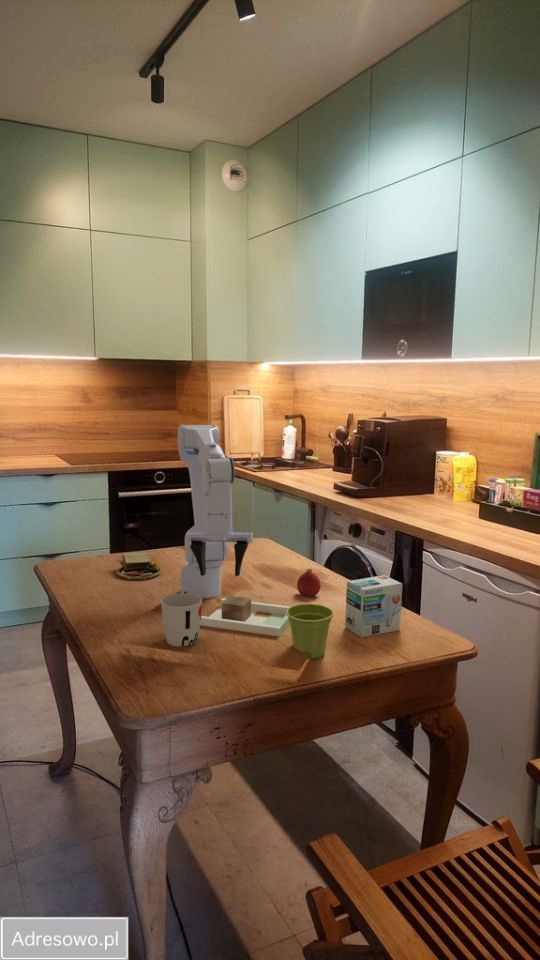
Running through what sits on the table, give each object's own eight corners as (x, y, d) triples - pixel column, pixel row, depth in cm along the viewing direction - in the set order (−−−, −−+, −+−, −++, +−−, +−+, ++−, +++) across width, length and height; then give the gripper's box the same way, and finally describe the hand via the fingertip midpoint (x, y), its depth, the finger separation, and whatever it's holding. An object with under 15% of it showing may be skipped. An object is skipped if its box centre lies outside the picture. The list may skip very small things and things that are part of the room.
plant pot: (298, 666, 122) (299, 623, 121) (277, 647, 131) (278, 606, 129) (341, 658, 126) (342, 616, 124) (318, 640, 134) (319, 601, 133)
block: (221, 620, 141) (221, 603, 140) (230, 612, 145) (230, 595, 145) (243, 623, 139) (243, 605, 138) (250, 615, 144) (250, 598, 143)
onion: (318, 604, 155) (319, 573, 154) (295, 602, 156) (295, 571, 155) (321, 596, 161) (322, 566, 160) (298, 595, 162) (299, 564, 161)
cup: (184, 659, 125) (184, 610, 123) (153, 649, 129) (152, 601, 127) (210, 644, 131) (210, 598, 130) (179, 636, 136) (179, 590, 134)
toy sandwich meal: (115, 582, 171) (115, 565, 170) (117, 568, 184) (116, 552, 183) (163, 580, 173) (162, 563, 173) (161, 566, 187) (161, 550, 186)
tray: (199, 631, 138) (199, 617, 138) (222, 611, 150) (222, 598, 150) (279, 643, 133) (279, 628, 132) (296, 621, 145) (296, 607, 144)
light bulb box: (361, 638, 136) (363, 589, 134) (343, 627, 142) (345, 580, 140) (401, 630, 141) (403, 582, 139) (382, 619, 146) (384, 574, 145)
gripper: (181, 515, 137) (183, 578, 138) (249, 515, 135) (250, 579, 136) (190, 511, 144) (191, 571, 145) (254, 511, 142) (255, 572, 143)
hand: (220, 574), depth 141 cm, fingers open, 7 cm apart
